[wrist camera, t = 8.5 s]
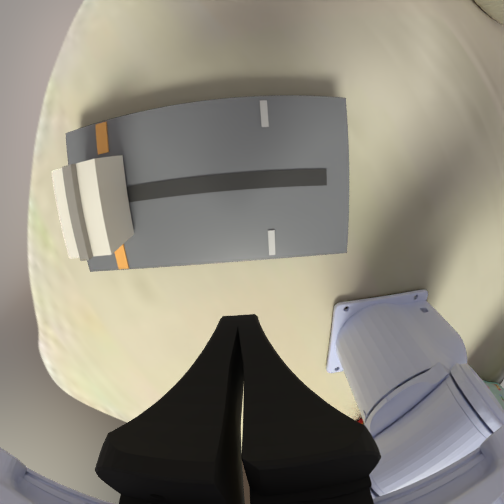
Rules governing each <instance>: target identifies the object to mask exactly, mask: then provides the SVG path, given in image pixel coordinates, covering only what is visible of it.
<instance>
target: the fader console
mask: <svg viewBox="0 0 504 504" xmlns="http://www.w3.org/2000/svg"><path fill="white" fill-rule="evenodd" d="M66 145H67V156H68V165H71V164H76V163H80V162H83V161H87V160H91V159H95V158H102V157H110V156H119V155H123V164H124V173H125V180H126V188H127V194H128V201H129V207H130V213H131V219H132V224H133V230H134V235H133V236H131V237H130V238H129V239H128V240H127V241H126V242H125V243H124V244H123V245H122V246H120V247H119V248H118V249H117V250H116V251H115V252H114V253H113V254H112V255H104V256H93V257H92V258H91V259H90V260H87V262H88V266H89V269H90V272H93V271H108V270H124V269H139V268H154V267H169V266H183V265H197V264H211V263H224V262H238V261H251V260H264V259H277V258H289V257H302V256H314V255H326V254H338V253H347V242H348V220H349V146H348V125H347V110H346V98H341V97H326V96H296V95H280V96H251V97H236V98H224V99H214V100H205V101H198V102H190V103H184V104H177V105H172V106H166V107H161V108H155V109H151V110H146V111H141V112H137V113H132V114H128V115H124V116H120V117H117V118H113V119H109V120H106V121H102V122H99V123H95V124H92V125H89V126H86V127H83V128H80V129H77V130H74V131H71V132H68V133H66Z"/></svg>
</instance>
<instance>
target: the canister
mask: <svg viewBox="0 0 504 504" xmlns="http://www.w3.org/2000/svg"><path fill="white" fill-rule="evenodd" d="M474 1H475V2H476V4H477V5H479V6H480V7H481V9H482V10H483V11H485V12H486V13H487V14H488V15H489V16H491V17H492V18H493V19H494V20H496V21H497V22H499V23H500V24H502V25H504V0H474Z"/></svg>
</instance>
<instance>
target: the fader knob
mask: <svg viewBox="0 0 504 504" xmlns="http://www.w3.org/2000/svg"><path fill="white" fill-rule="evenodd" d="M51 172H52V179H53V186H54V193H55V199H56V204H57V210H58V215H59V219H60V224H61V229H62V233H63V237H64V241H65V245H66V249H67V253H68V256H69V259H71V258H80V261H84V260H90V259H91V258H92V257H93V256H104V255H112V254H113V253H114V252H115V251H116V250H117V249H118V248H119V247H120V246H122V245H123V244H124V243H125V242H126V241H127V240H128V239H129V238H130V237H131V236H133V235H134V230H133V224H132V219H131V213H130V207H129V201H128V194H127V188H126V180H125V173H124V164H123V155H119V156H110V157H102V158H95V159H91V160H87V161H83V162H80V163H76V164H71V165H67V166H64V167H62V168H59V169H56V170H53V171H51Z"/></svg>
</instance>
